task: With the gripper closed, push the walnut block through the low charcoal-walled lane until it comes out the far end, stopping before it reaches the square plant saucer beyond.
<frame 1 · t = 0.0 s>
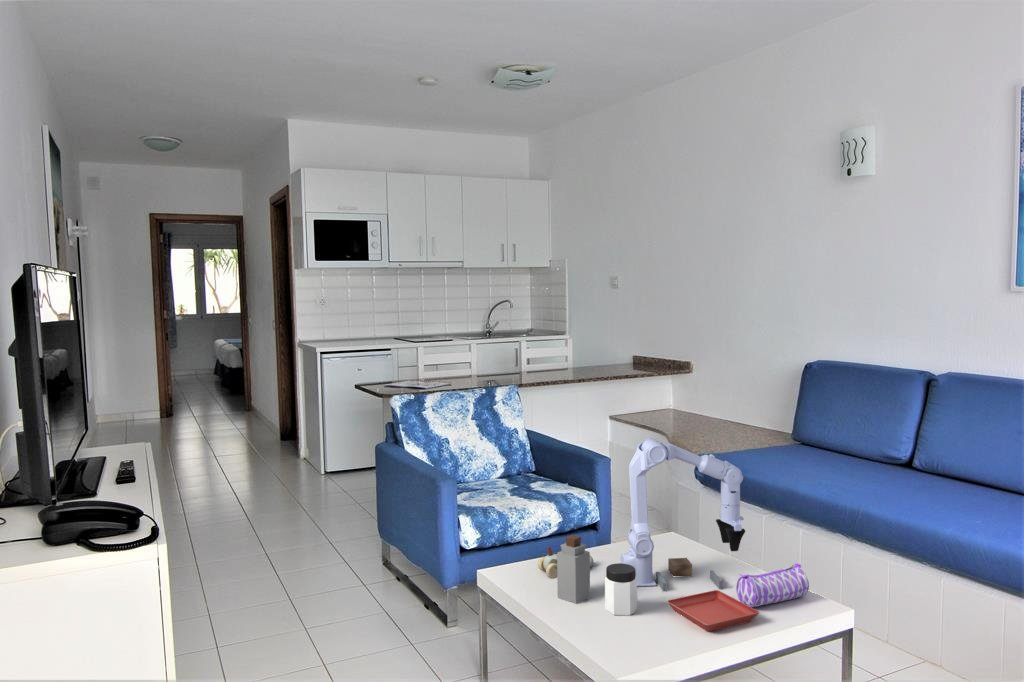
hand: (730, 546, 239), 10 cm above the table, tool pointing down, fingers open, 7 cm apart
perfume bottle: (573, 598, 227), on the table
jar: (621, 610, 218), on the table
pencil case: (773, 601, 222), on the table
toy dog: (564, 571, 249), on the table
lane: (688, 584, 235), on the table
walnut block: (680, 573, 245), on the table
plant saucer: (712, 618, 213), on the table
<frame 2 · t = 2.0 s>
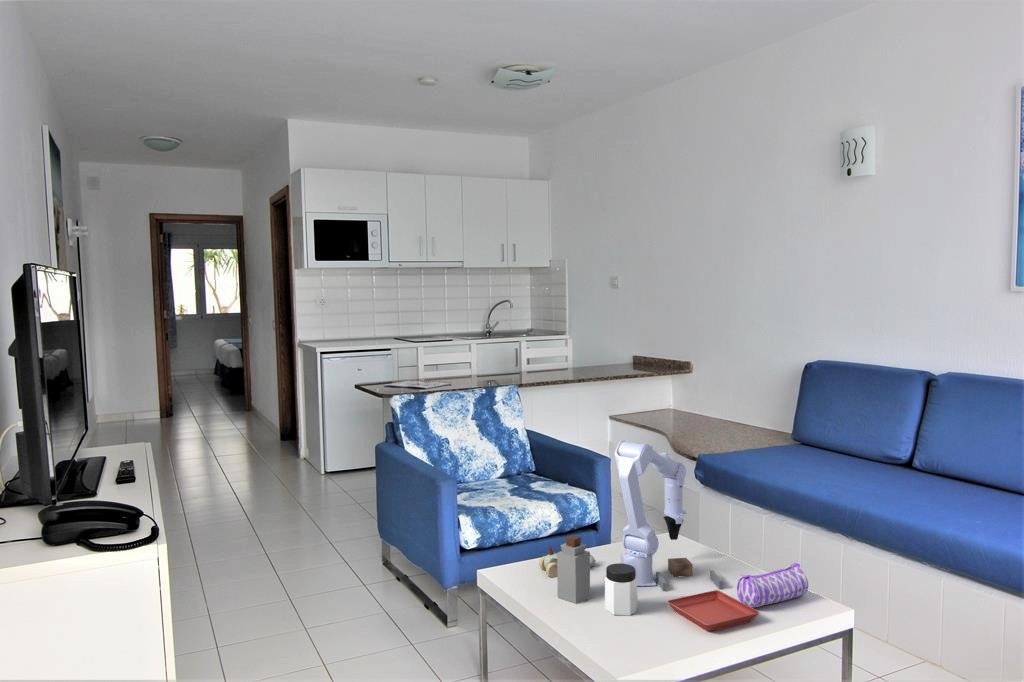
hand: (673, 539, 252), 8 cm above the table, tool pointing down, fingers closed
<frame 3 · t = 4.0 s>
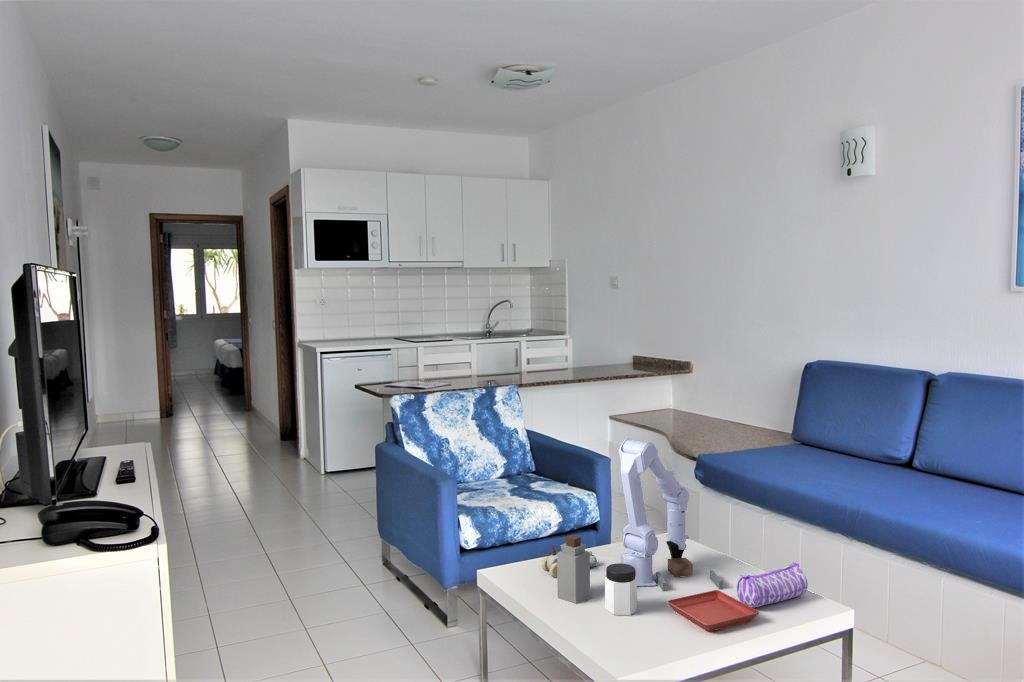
hand: (676, 564, 249), 1 cm above the table, tool pointing down, fingers closed
walnut block: (680, 573, 245), on the table, touching gripper
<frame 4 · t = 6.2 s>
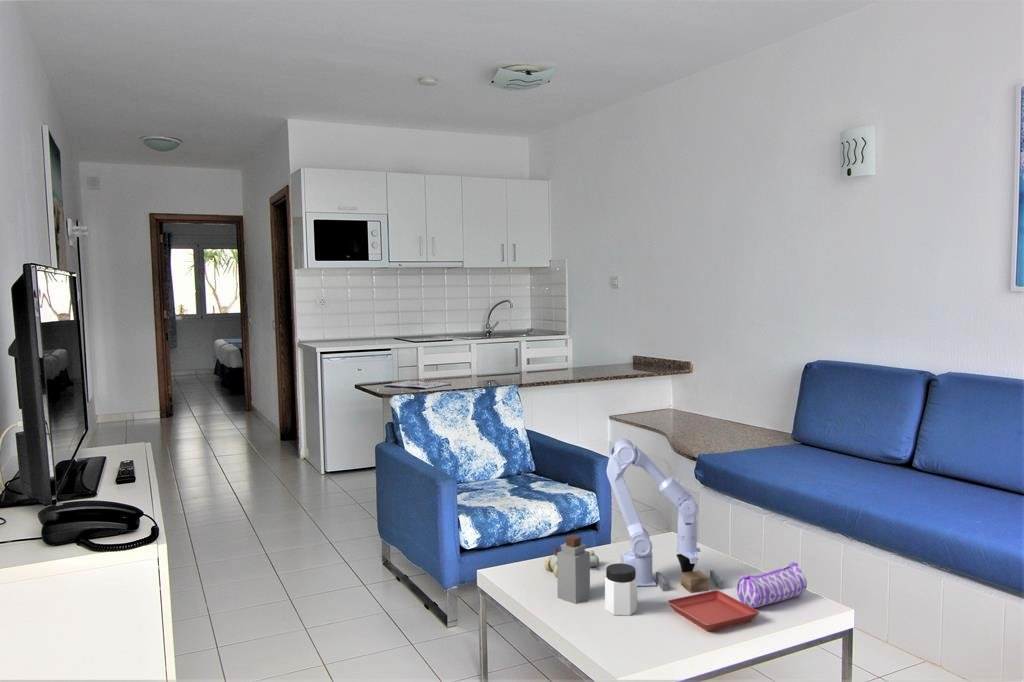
hand: (687, 578, 237), 1 cm above the table, tool pointing down, fingers closed
walnut block: (694, 588, 232), on the table, touching gripper
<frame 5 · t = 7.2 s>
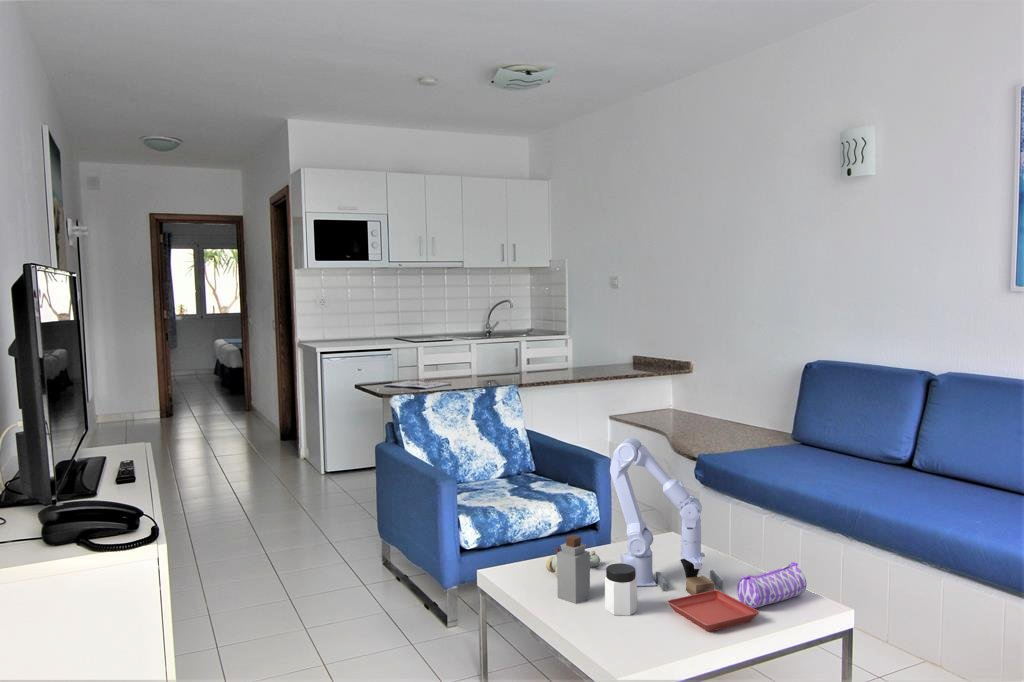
hand: (691, 583, 232), 1 cm above the table, tool pointing down, fingers closed
walnut block: (700, 593, 228), on the table, touching gripper
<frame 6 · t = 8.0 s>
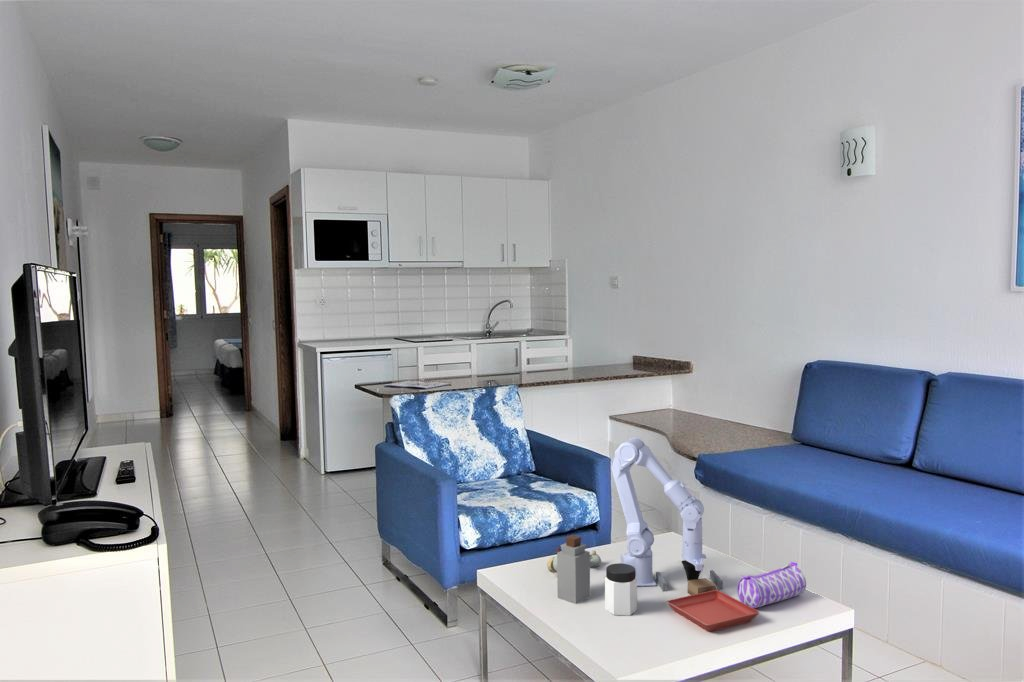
hand: (692, 585, 231), 1 cm above the table, tool pointing down, fingers closed
walnut block: (701, 596, 227), on the table, touching gripper
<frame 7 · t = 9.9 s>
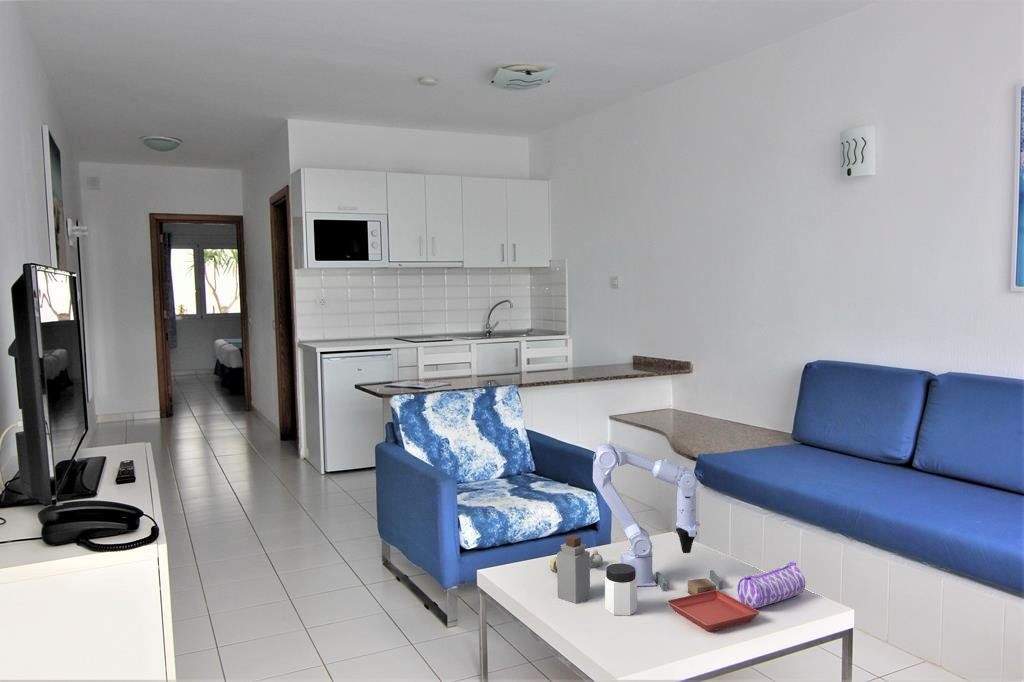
hand: (686, 552, 236), 9 cm above the table, tool pointing down, fingers closed
walnut block: (701, 596, 227), on the table
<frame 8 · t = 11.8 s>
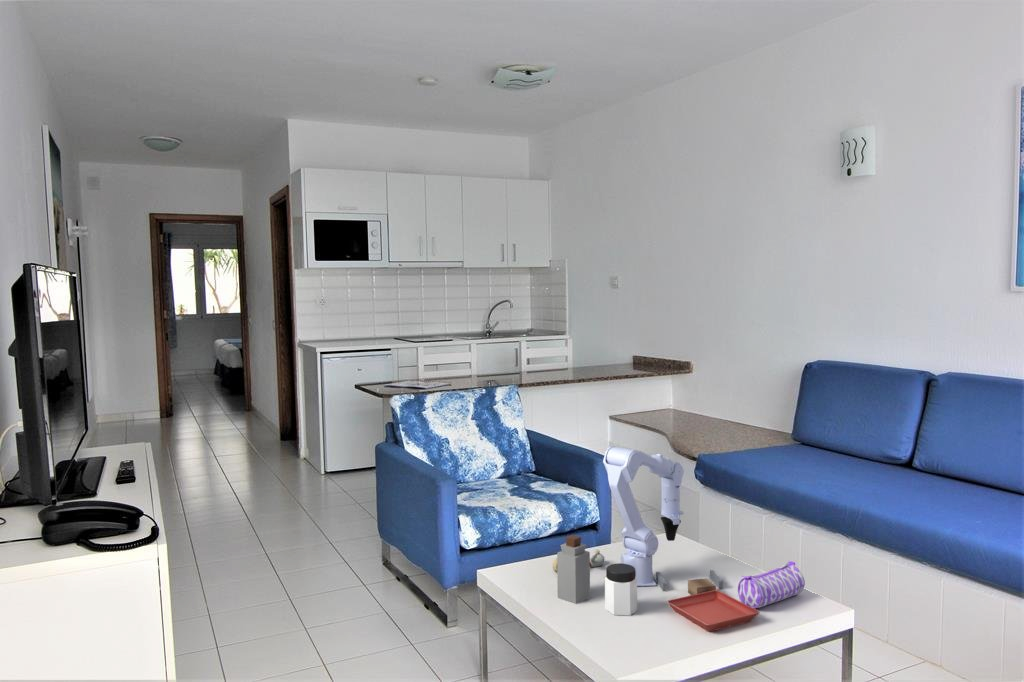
hand: (670, 540, 248), 9 cm above the table, tool pointing down, fingers closed
at the end: walnut block inside the target area (1.7 cm from its centre), on the table; walnut block touching table; walnut block tilted 0° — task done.
